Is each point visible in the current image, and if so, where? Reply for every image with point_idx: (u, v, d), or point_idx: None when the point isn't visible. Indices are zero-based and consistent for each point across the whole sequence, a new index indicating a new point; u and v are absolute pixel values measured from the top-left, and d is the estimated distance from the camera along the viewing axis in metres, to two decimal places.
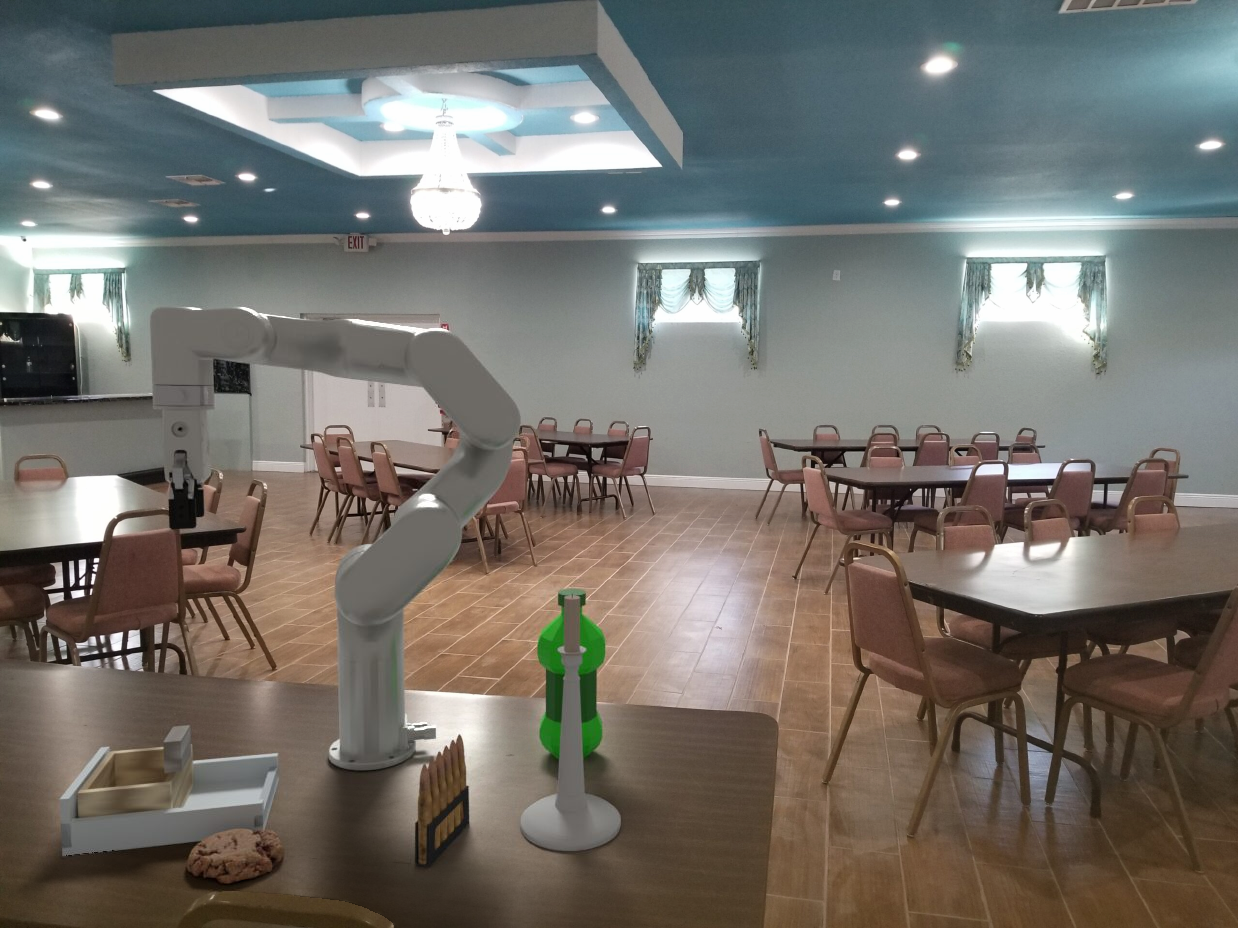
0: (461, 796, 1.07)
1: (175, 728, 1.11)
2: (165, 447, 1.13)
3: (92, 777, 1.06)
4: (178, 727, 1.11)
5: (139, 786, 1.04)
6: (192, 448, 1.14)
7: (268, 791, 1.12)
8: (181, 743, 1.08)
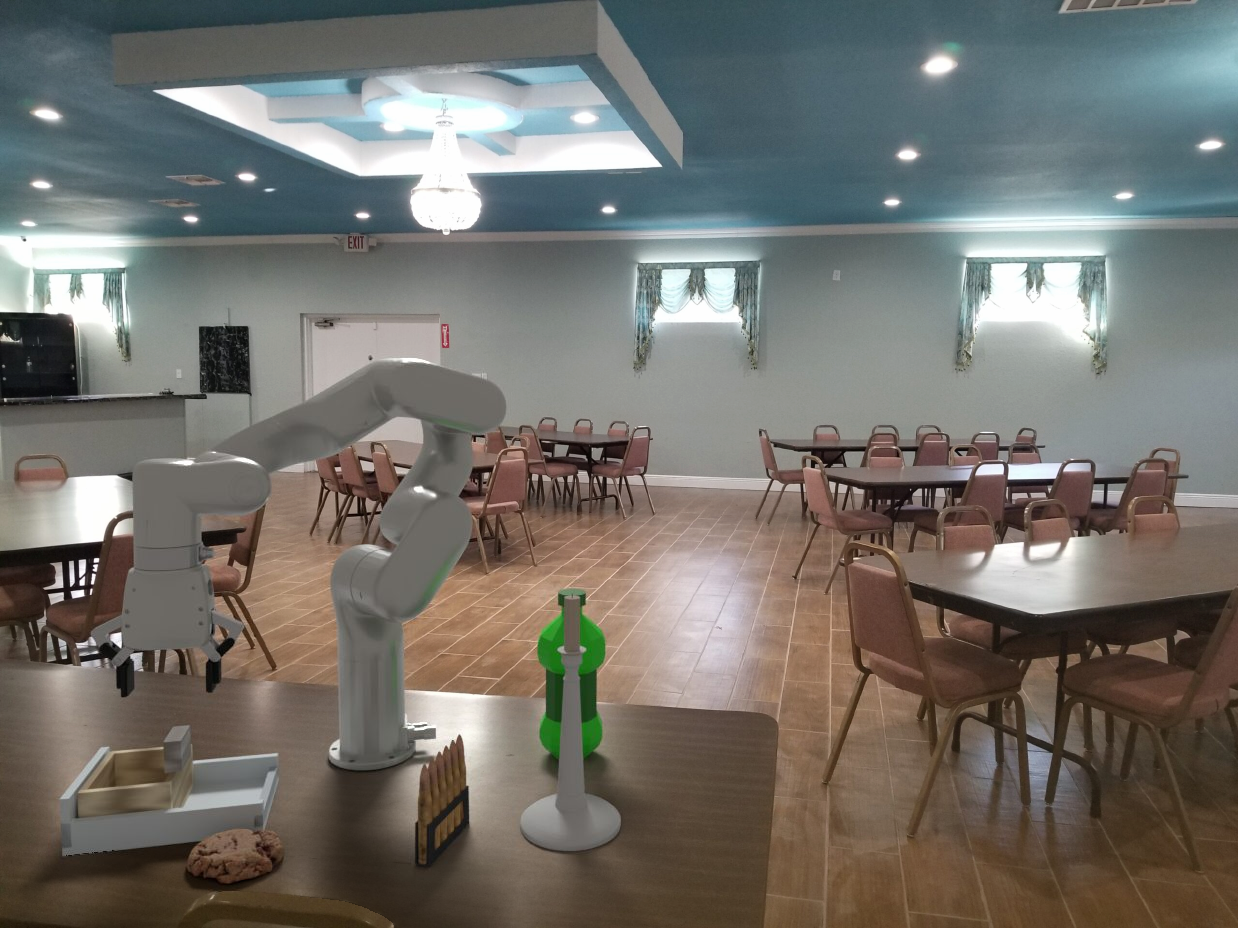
0: (461, 796, 1.07)
1: (175, 728, 1.11)
2: (206, 609, 1.07)
3: (92, 777, 1.06)
4: (178, 727, 1.11)
5: (139, 786, 1.04)
6: (214, 604, 1.10)
7: (268, 791, 1.12)
8: (181, 743, 1.08)
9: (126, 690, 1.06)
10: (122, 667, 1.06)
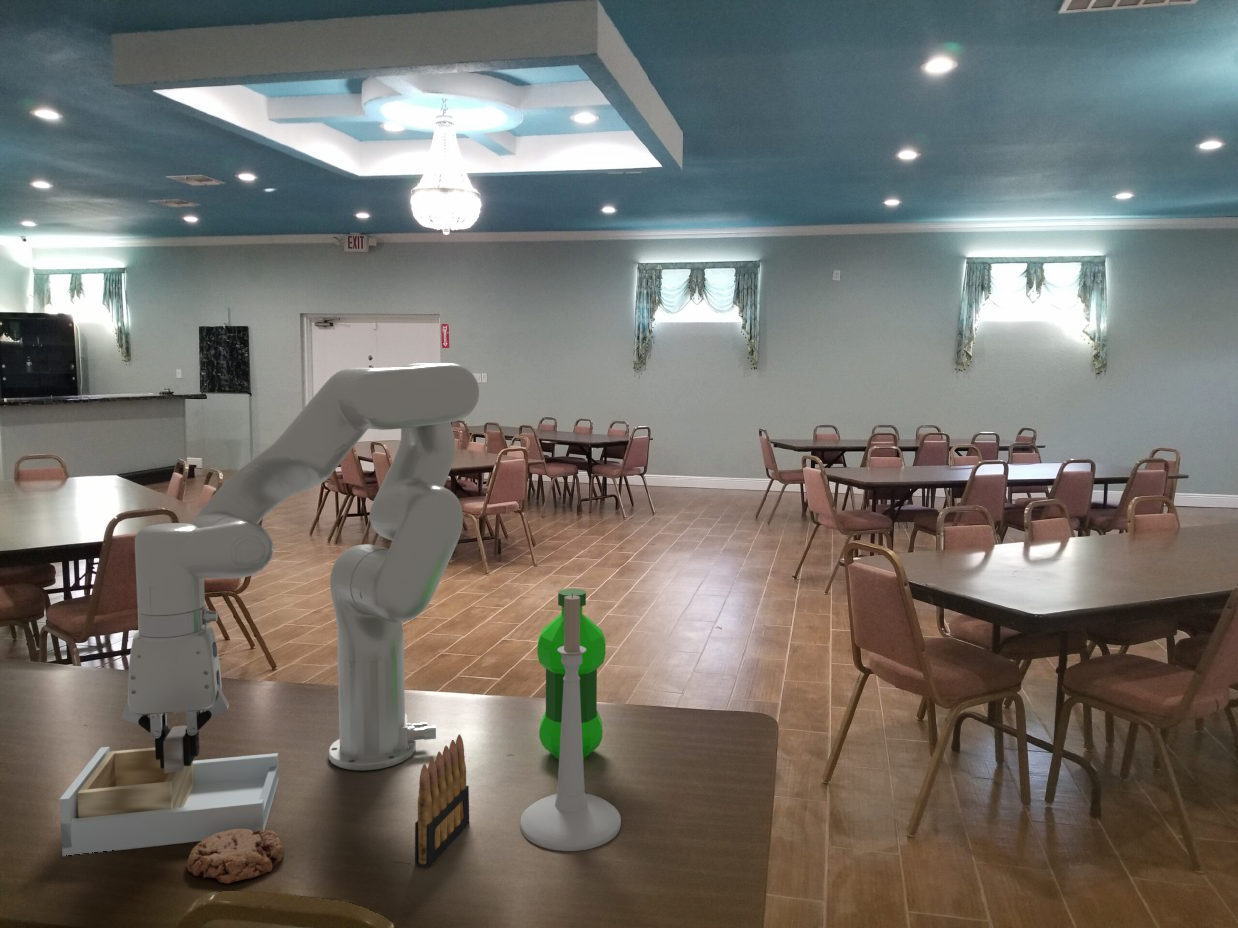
0: (461, 796, 1.07)
1: (175, 728, 1.11)
2: (211, 672, 1.08)
3: (92, 777, 1.06)
4: (178, 727, 1.11)
5: (139, 786, 1.04)
6: (219, 665, 1.11)
7: (268, 791, 1.12)
8: (181, 743, 1.08)
9: None
10: (161, 739, 1.08)
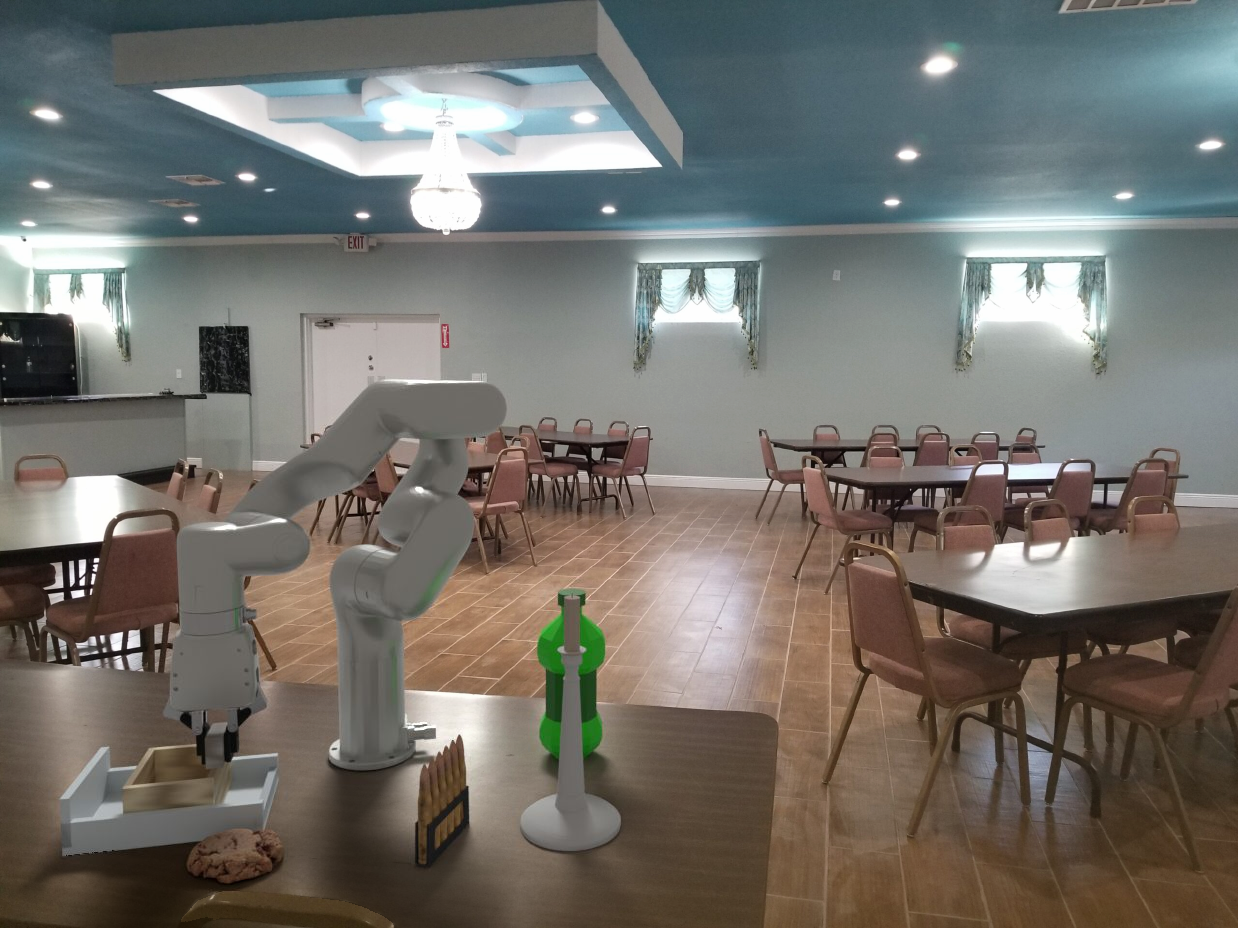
0: (461, 796, 1.07)
1: (215, 725, 1.12)
2: (252, 669, 1.09)
3: (135, 773, 1.07)
4: (218, 724, 1.13)
5: (182, 782, 1.05)
6: (258, 662, 1.13)
7: (268, 791, 1.12)
8: (222, 739, 1.09)
9: None
10: (202, 736, 1.09)
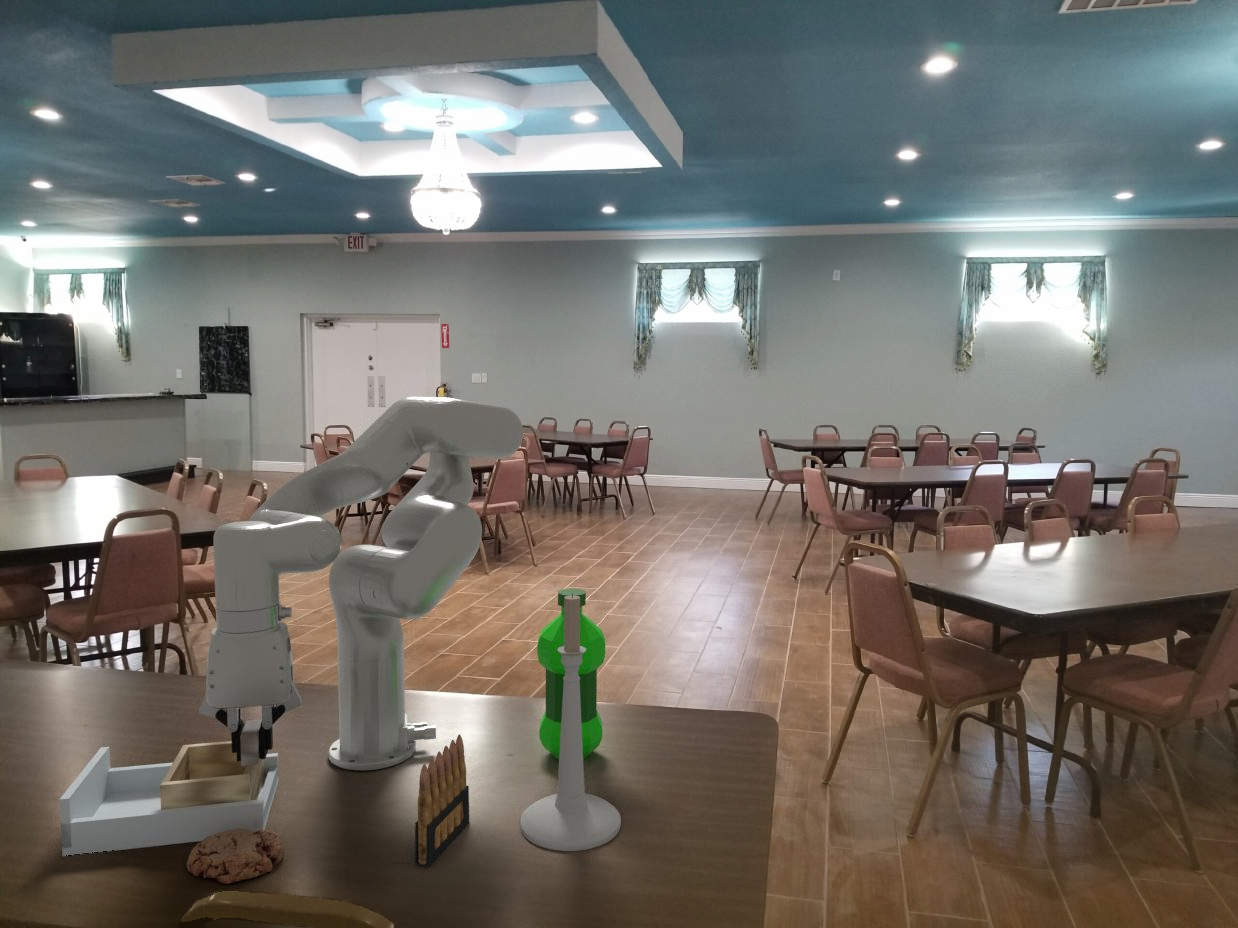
0: (460, 796, 1.07)
1: (249, 722, 1.13)
2: (287, 667, 1.10)
3: (171, 769, 1.08)
4: (252, 721, 1.14)
5: (219, 778, 1.06)
6: (292, 660, 1.14)
7: (268, 791, 1.12)
8: (257, 736, 1.10)
9: None
10: (237, 733, 1.10)
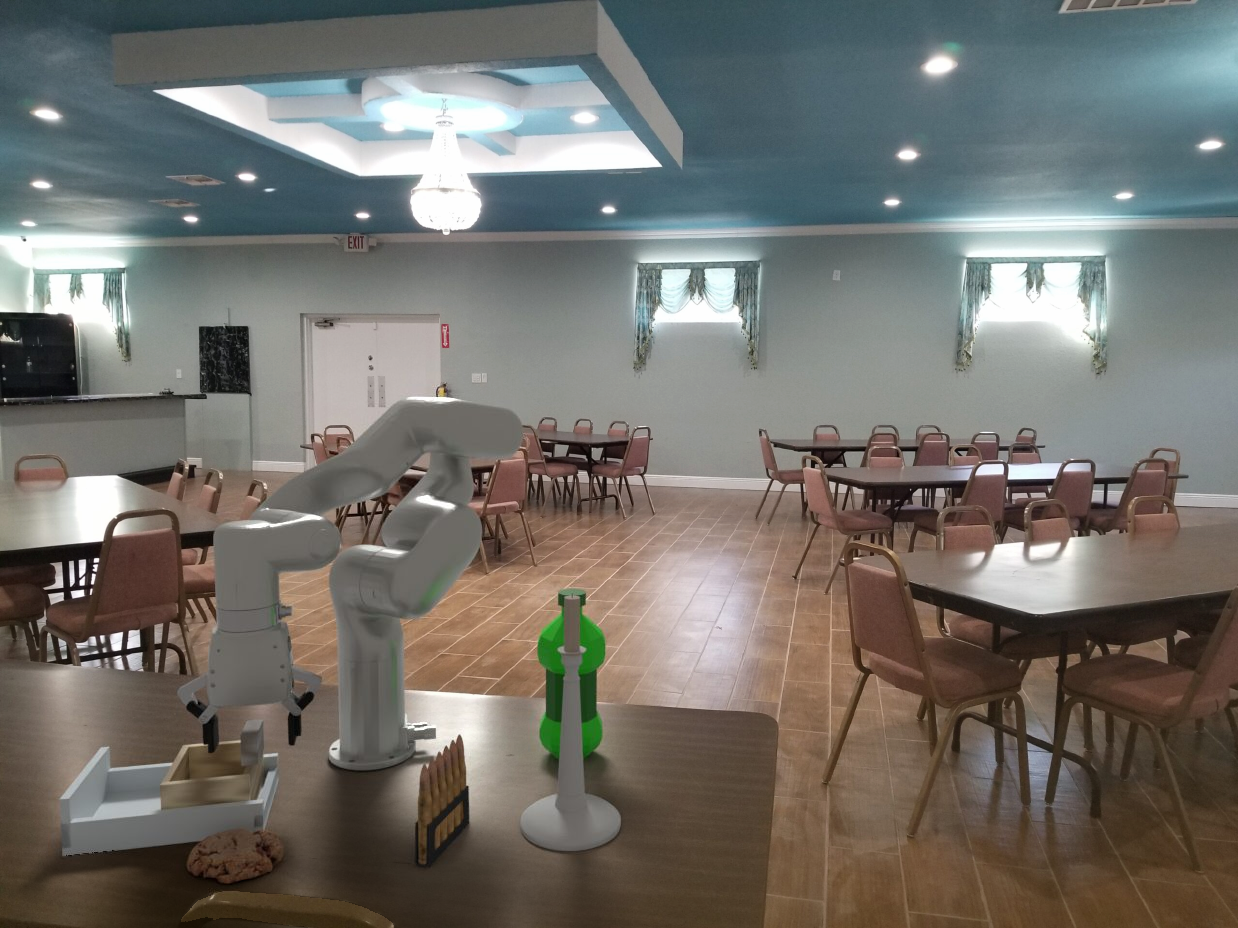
0: (461, 796, 1.07)
1: (249, 722, 1.13)
2: (287, 666, 1.11)
3: (171, 769, 1.08)
4: (252, 721, 1.14)
5: (219, 778, 1.06)
6: None
7: (268, 791, 1.12)
8: (257, 736, 1.10)
9: (213, 746, 1.10)
10: (209, 724, 1.09)
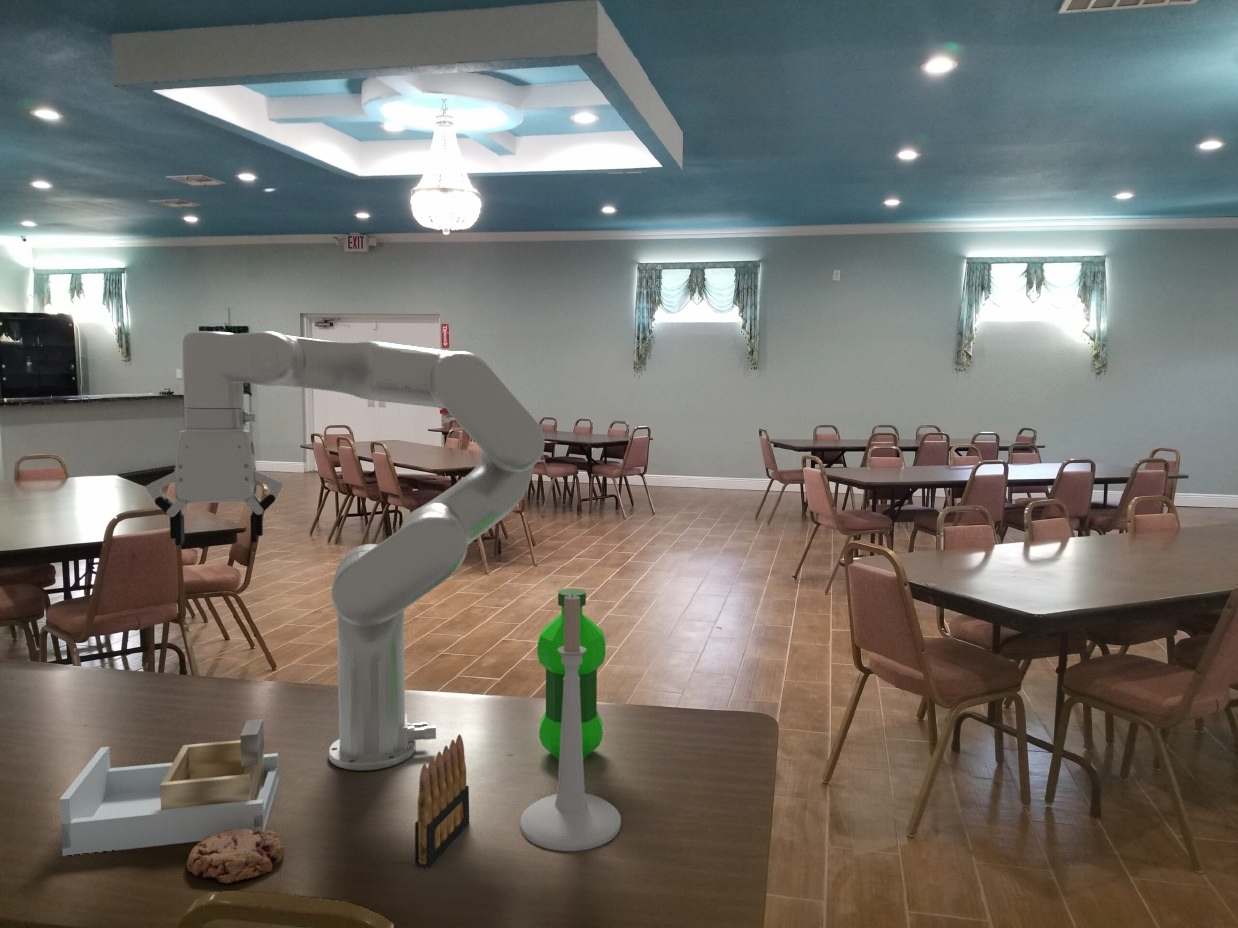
0: (461, 796, 1.07)
1: (249, 722, 1.13)
2: (251, 466, 1.20)
3: (171, 769, 1.08)
4: (252, 721, 1.14)
5: (219, 778, 1.06)
6: (255, 465, 1.23)
7: (268, 791, 1.12)
8: (257, 736, 1.10)
9: (180, 539, 1.18)
10: (176, 518, 1.18)
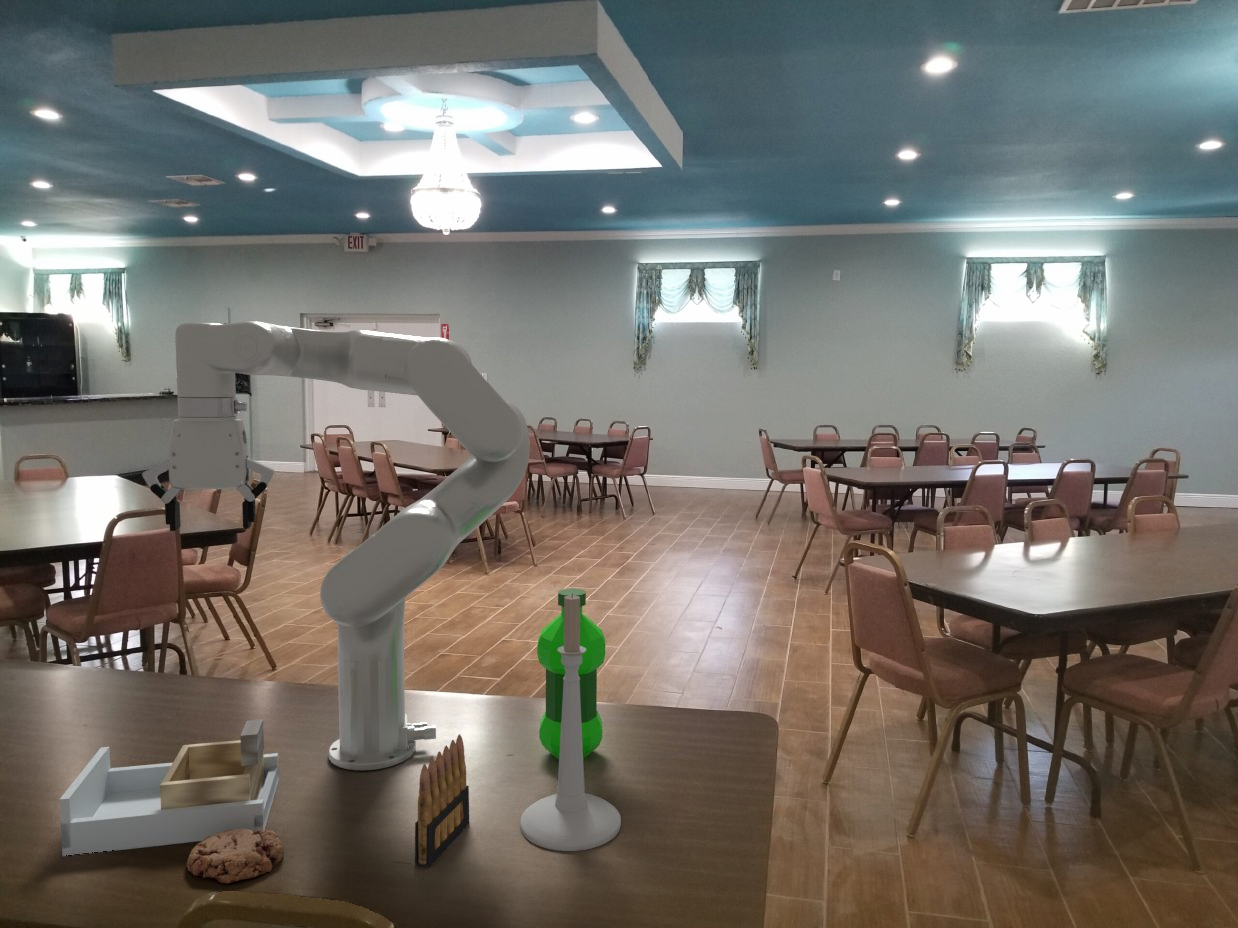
0: (461, 796, 1.07)
1: (249, 722, 1.13)
2: (242, 454, 1.23)
3: (171, 769, 1.08)
4: (252, 721, 1.14)
5: (219, 778, 1.06)
6: None
7: (268, 791, 1.12)
8: (257, 736, 1.10)
9: (174, 524, 1.22)
10: (170, 504, 1.21)
